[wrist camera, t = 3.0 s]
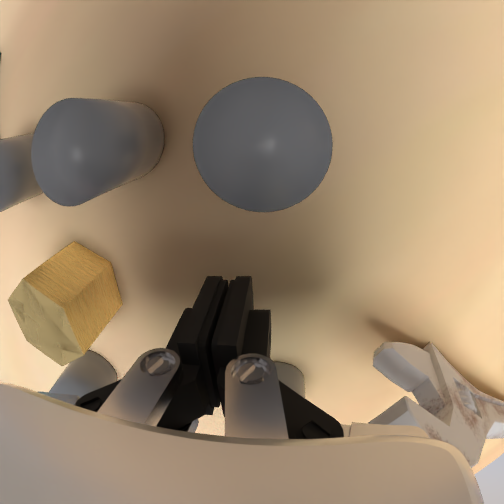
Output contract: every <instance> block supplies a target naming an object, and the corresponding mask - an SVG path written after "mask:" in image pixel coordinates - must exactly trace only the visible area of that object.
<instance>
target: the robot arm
mask: <svg viewBox="0 0 504 504" xmlns="http://www.w3.org/2000/svg"><path fill="white" fill-rule="evenodd" d="M270 350H271V311H270V310H254V308H253V291H252V278H251V276H237V277H236V280H231V282H230V285H229V287H228V281H227V280H223V277H222V276H207V278H206V280H205V282H204V284H203V286H202V289H201V291H200V293H199V295H198V297H197V299H196V301H195V303H194V306H193V308H186V309H185V310H184V312H183V314H182V316H181V318H180V320H179V322H178V324H177V326H176V328H175V330H174V332H173V334H172V336H171V338H170V340H169V342H168V345H167V347H166V348H157V349H152V350H149V351H147V352H145V353H144V354H142V355H141V356H140V357H139V358H138V359H137V361H136V362H135V363H134V364H133V366H132V367H131V368H130V370H129V371H128V372H127V373H126V375H125V376H124V377H123V379H121V380H119V381H116V382H114V383H111V384H109V385H107V386H104V387H102V388H99V389H97V390H94V391H92V392H89V393H87V394H85V395H83V396H82V397H81V398H80V397H79V396H78V395H68V394H57V393H48V392H36V391H33V390H30V389H27V388H24V387H20V386H16V385H13V384H7V383H0V504H484V502H483V498H482V495H481V492H480V489H479V486H478V483H477V481H476V478H475V476H474V473H473V471H472V469H471V467H470V465H469V463H468V461H467V460H466V458H465V457H464V456H463V454H462V453H461V452H460V451H459V450H458V449H457V448H456V447H454V446H452V445H450V444H449V443H446V442H443V441H440V440H436V439H431V438H429V436H428V435H427V433H426V432H425V431H424V430H423V429H421V428H419V427H416V426H411V425H381V424H366V423H355V422H352V424H351V425H342V424H340V423H339V422H338V421H337V420H336V419H335V418H333V417H332V416H330V415H329V414H327V413H326V412H324V411H323V410H321V409H320V408H318V407H317V406H315V405H314V404H312V403H311V402H309V401H308V400H306V399H305V398H303V397H302V396H301V395H299V394H298V393H296V392H295V391H294V390H292V389H291V388H289V387H288V386H287V385H285V384H284V383H282V382H281V381H280V380H278V375H277V369H276V366H275V364H274V362H273V361H272V360H271V359H270ZM220 402H221V405H222V410H223V414H224V417H225V436H217V435H208V434H199V433H195V431H196V429H197V426H198V422H199V421H198V418H200V417H202V416H203V415H213V410H214V407H219V406H220Z"/></svg>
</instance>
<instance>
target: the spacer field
mask: <svg viewBox="0 0 504 504" xmlns="http://www.w3.org/2000/svg"><path fill="white" fill-rule="evenodd" d="M163 147H164V131H163V127H162V124H161V121H160V119H159V118H158V116H157V115H156V113H155V112H154V111H153V110H152V109H150V108H149V107H147V106H145V105H143V104H140V103H134V102H125V101H114V100H101V99H84V98H68V99H64V100H61V101H59V102H57V103H55V104H54V105H52V106H51V107H50V108H49V109H48V110H47V111H46V112H45V113H44V114H43V116H42V117H41V119H40V121H39V123H38V125H37V127H36V129H35V132H34V134H27V135H21V136H16V137H11V138H6V139H1V140H0V212H2V211H4V210H6V209H8V208H10V207H12V206H14V205H17V204H19V203H21V202H23V201H26V200H28V199H30V198H33V197H35V196H37V195H40V194H42V193H43V192H44V193H45V194H46V196H47V197H49V198H50V199H51V200H52V201H54V202H55V203H57V204H60V205H63V206H77V205H80V204H82V203H84V202H86V201H89V200H91V199H93V198H95V197H97V196H99V195H101V194H103V193H106V192H108V191H110V190H112V189H114V188H117V187H119V186H121V185H124V184H126V183H128V182H131V181H133V180H135V179H138V178H140V177H142V176H144V175H146V174H147V173H149V172H150V171H151V170H152V169H153V168H154V167H155V165H156V164H157V162H158V161H159V159H160V157H161V154H162V151H163ZM193 153H194V159H195V162H196V166H197V168H198V170H199V173H200V175H201V176H202V178H203V180H204V181H205V183H206V184H207V185H208V187H209V188H210V189H211V190H212V191H213V192H214V193H215V194H216V195H217V196H219V197H220V198H221V199H223V200H224V201H226V202H228V203H229V204H231V205H233V206H236V207H238V208H241V209H244V210H248V211H254V212H272V211H278V210H283V209H285V208H288V207H291V206H293V205H295V204H297V203H299V202H301V201H302V200H304V199H305V198H307V197H308V196H309V195H310V194H311V193H312V192H313V191H314V190H315V189H316V188H317V187H318V186H319V184H320V183H321V181H322V180H323V178H324V176H325V174H326V172H327V170H328V167H329V164H330V161H331V156H332V134H331V130H330V126H329V123H328V120H327V118H326V116H325V114H324V112H323V110H322V109H321V107H320V106H319V105H318V103H317V102H316V101H315V100H314V99H313V98H312V97H311V96H310V95H309V94H308V93H306V92H305V91H304V90H303V89H301V88H299V87H298V86H296V85H294V84H292V83H289V82H287V81H284V80H280V79H277V78H270V77H255V78H248V79H244V80H240V81H237V82H235V83H232V84H230V85H228V86H227V87H225V88H223V89H222V90H220V91H219V92H218V93H217V94H215V95H214V96H213V97H212V98H211V99H210V100H209V102H208V103H207V104H206V105H205V107H204V108H203V110H202V112H201V113H200V115H199V118H198V120H197V122H196V126H195V130H194V135H193ZM274 364H275V366H276V369H277V375H278V380H280V381H281V382H282V383H284V384H285V385H287V386H288V387H289V388H291V389H292V390H294V391H295V392H296V393H298V394H299V395H301V396H302V397H303V398H305V384H304V376H303V374H302V373H301V371H300V370H298V369H297V368H296V367H294V366H292V365H290V364H287V363H282V362H274ZM116 381H117V374H116V372H115V370H114V368H113V367H112V366H111V365H110V363H109V362H108V361H106V360H105V359H104V358H103V357H101V356H100V355H98V354H97V353H95V352H92V351H90V350H87V352H86V353H85V354H84V355H83V356H81V357H79V358H78V359H76V360H74V361H72V362H70V363H69V365H68V366H67V367H66V369H65V370H64V371H63V373H62V374H61V376H60V377H59V378H58V380H57V381H56V383H55V384H54V386H53V387H52V388H51V390H50V391H49V393H57V394H68V395H78V396H79V397H80V398H81V397H82V396H83V395H85V394H87V393H89V392H92V391H94V390H97V389H99V388H102V387H104V386H107V385H109V384H111V383H114V382H116Z"/></svg>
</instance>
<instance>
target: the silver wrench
mask: <svg viewBox="0 0 504 504" xmlns="http://www.w3.org/2000/svg"><path fill="white" fill-rule="evenodd" d="M373 366H374V367H375V368H376V369H377V370H378V371H380V372H381V373H382V374H383V375H384V376H386V377H387V378H388V379H389V380H390V381H392V382H393V383H395V384H396V385H398V386H400V387H401V388H403V389H404V390H406V391H408V392H412V393H413V394H414V396H415V398H416V399H417V401H418V403H419V405H418V404H417V403H415V402H414V401H412V400H411V399H410V398H408V397H407V396H404V397H403V398H402V399H400V400H399V401H398V402H396V403H395V404H394V405H392V406H391V407H390V408H388V409H387V410H386V411H384V412H383V413H381V414H380V415H379V416H377V417H376V418H374V419H373V420H371V421H370V422H368V424H381V425H411V426H416V427H419V428H421V429H423V430H424V431H425V432H426V433H427V435H428V436H429V438H431V439H436V440H440V441H443V442H446V443H449V444H450V445H452V446H454V447H456V448H457V449H458V450H459V451H460V452H461V453H462V454H463V456H464V457H465V458H466V460H467V461H468V463H469V465H470V467H471V468H472V467H473V466H475V465H476V464H477V463H478V461H479V459H480V455H481V451H482V448H483V445H484V442H485V439H493V438H504V401H502V400H499V399H497V398H494V397H492V396H490V395H487V394H485V393H483V392H481V391H479V390H477V389H476V388H475V387H474V386H473V385H472V384H470V383H469V382H468V381H467V380H466V379H465V378H464V377H463V376H462V375H461V374H460V373H459V372H458V371H457V370H456V369H455V368H454V367H453V366H452V365H451V364H450V363H449V362H448V361H447V360H446V359H445V358H444V357H443V355H442V354H441V353H440V352H439V351H438V349H437V348H436V347H435V346H434V345H433V344H432V343H431V342H429V343H428V344H427V345H426V346H425V347H424V348H423V349H420V348H419V347H417V346H415V345H412V344H408V343H403V342H384V343H383V344H382V345H381V346H380V347H379V348H378V349H377V350H375V351H374V357H373Z"/></svg>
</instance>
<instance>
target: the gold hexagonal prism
mask: <svg viewBox="0 0 504 504" xmlns="http://www.w3.org/2000/svg"><path fill="white" fill-rule="evenodd" d="M8 301H9V304H10V306H11V308H12V311H13V313H14V315H15V317H16V320H17V322H18V324H19V326H20V328H21V330H22V332H23V334H24V336H25V338H26V340H27V341H28V342H29V343H31V344H32V345H33V346H34V347H36V348H37V349H38V350H40V351H41V352H42V353H44V354H45V355H47V356H48V357H49V358H51V359H52V360H54V361H55V362H57V363H58V364H59V365H61V366H64V365H66V364H68V363H70V362H72V361H74V360H76V359H78V358H79V357H81V356H83V355H84V354H85V353H86V352H87V350H88V349H89V348H90V346H91V345H92V344H93V342H94V341H95V340H96V338H97V337H98V336H99V334H100V333H101V332H102V330H103V329H104V328H105V326H106V325H107V324H108V322H109V321H110V320H111V318H112V317H113V316H114V315H115V313H116V312H117V311H118V309H119V308H120V307H121V306H122V300H121V297H120V293H119V290H118V287H117V283H116V279H115V276H114V272H113V268H112V264H111V262H109V261H107V260H106V259H104V258H102V257H100V256H99V255H97V254H95V253H94V252H92V251H90V250H89V249H87V248H85V247H84V246H82V245H80V244H79V243H77V242H75V241H74V242H73V243H71V244H70V245H68V246H67V247H65V248H64V249H62V250H61V251H60V252H58V253H57V254H55V255H54V256H53V257H51V258H50V259H48V260H47V261H46V262H44V263H43V264H42V265H40V266H39V267H38V268H36V269H35V270H34V271H32V272H31V273H30V274H28V275H27V276H26V277H25V278H23V279H22V281H21V282H20V283H19V285H18V286H17V287H16V289H15V290H14V292H13V293H12V294H11V296H10V297H9V299H8Z"/></svg>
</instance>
